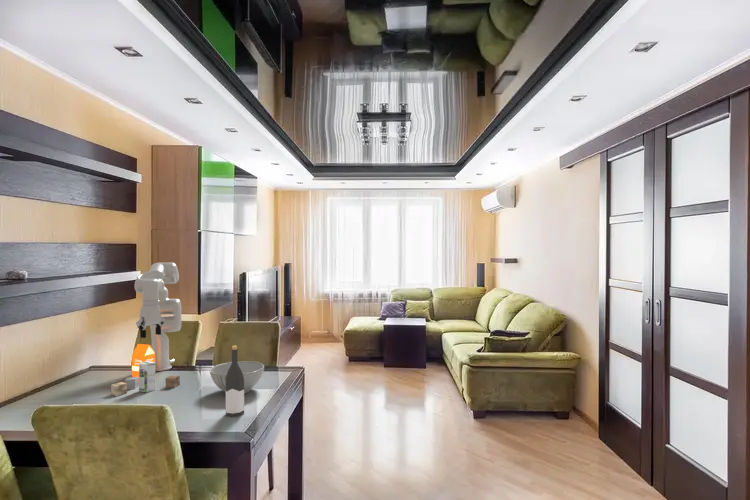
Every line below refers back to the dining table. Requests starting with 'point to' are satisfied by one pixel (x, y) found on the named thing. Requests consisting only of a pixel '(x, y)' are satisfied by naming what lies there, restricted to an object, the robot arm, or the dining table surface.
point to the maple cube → (119, 389)
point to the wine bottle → (234, 388)
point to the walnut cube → (172, 381)
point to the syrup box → (146, 376)
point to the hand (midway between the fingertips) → (150, 336)
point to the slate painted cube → (132, 382)
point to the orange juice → (141, 357)
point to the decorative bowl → (248, 368)
